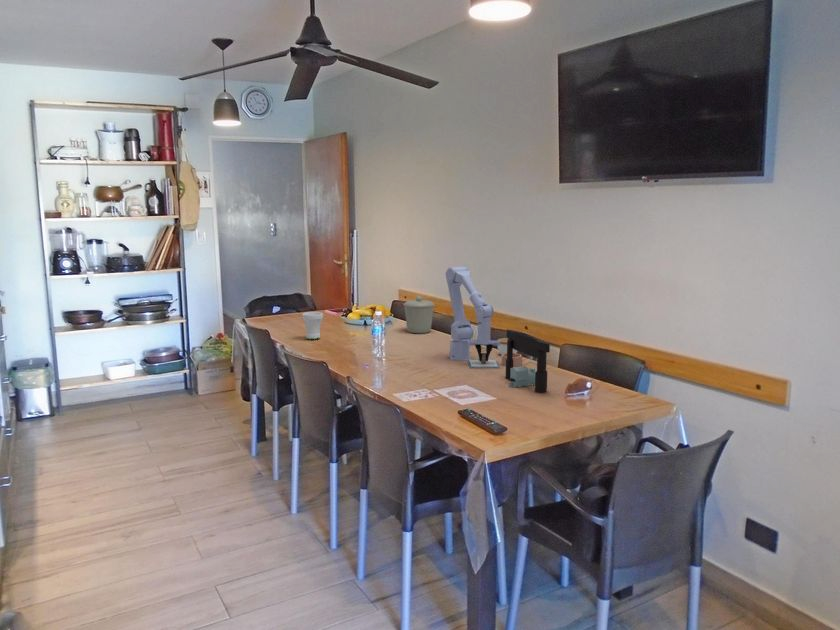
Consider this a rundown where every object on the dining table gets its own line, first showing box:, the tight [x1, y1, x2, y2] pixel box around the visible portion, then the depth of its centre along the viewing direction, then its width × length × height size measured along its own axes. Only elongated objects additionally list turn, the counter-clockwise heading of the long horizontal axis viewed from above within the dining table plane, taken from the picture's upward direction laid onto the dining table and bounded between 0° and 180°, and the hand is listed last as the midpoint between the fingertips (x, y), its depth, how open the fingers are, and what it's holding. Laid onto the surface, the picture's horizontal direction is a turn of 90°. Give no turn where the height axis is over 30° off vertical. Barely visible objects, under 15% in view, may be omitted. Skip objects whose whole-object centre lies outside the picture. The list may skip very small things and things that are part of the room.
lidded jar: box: [496, 337, 519, 355], centre depth 321 cm, size 11×11×9 cm
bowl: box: [500, 353, 523, 368], centre depth 303 cm, size 9×9×4 cm
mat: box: [466, 360, 501, 370], centre depth 302 cm, size 14×14×1 cm
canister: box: [403, 295, 436, 334], centre depth 379 cm, size 18×18×21 cm
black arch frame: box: [505, 328, 551, 393], centre depth 269 cm, size 16×21×33 cm
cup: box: [301, 311, 324, 340], centre depth 359 cm, size 11×11×14 cm
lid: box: [468, 352, 498, 367], centre depth 302 cm, size 12×12×5 cm
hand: (483, 360), depth 302 cm, fingers closed on lid, 2 cm apart
